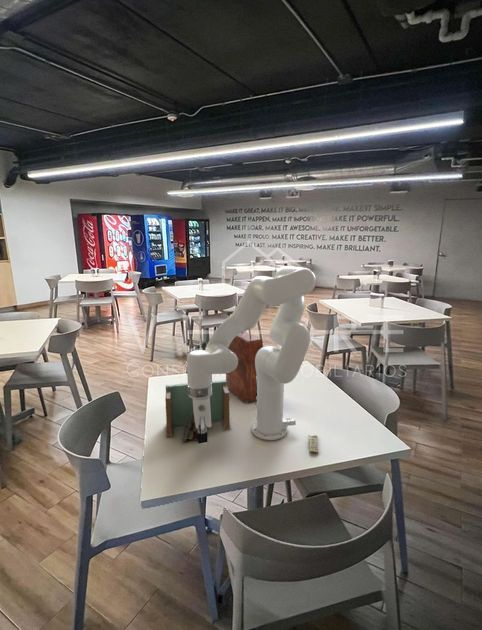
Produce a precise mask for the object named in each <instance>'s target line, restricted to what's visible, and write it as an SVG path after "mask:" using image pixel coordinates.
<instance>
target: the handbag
mask: <svg viewBox="0 0 482 630" xmlns="http://www.w3.org/2000/svg"><path fill="white" fill-rule="evenodd" d="M262 347H264V344H263V340H262V338H259V337H257V336H254V335H253V334H251V329H249V330H248V332H247V331H243V332H241V333H240V334H238V335H237V336H236V337H235V338H234V339H233V340H232V342H231V343H230V345H229V347H228V349H229V350H230V351H232V352H233V353H234V354H235V355H236V356H237V358H238V365H237V367H236V369H235V370H234V371H232V372H230V373H227V374H225V380H226V385H227V388H228V390H229V391H230V392H231V393H233V394H234V395H235V396H236V397H237V398H239V399H240V400H241V401H242V402H243V403H251V402H255V401H257V400H256V376H257V374H256V367H255V357H256V354H257V352H258V351H259V350H260V349H261V348H262Z"/></svg>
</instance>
